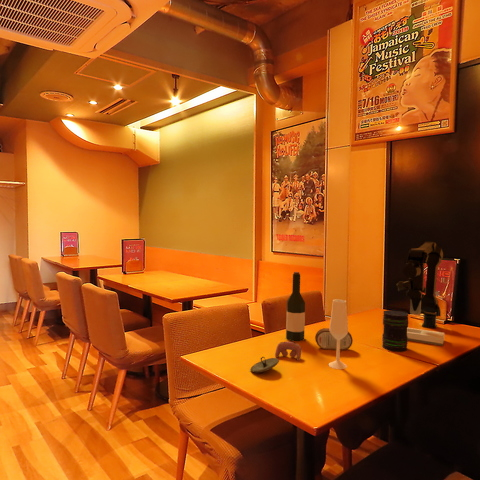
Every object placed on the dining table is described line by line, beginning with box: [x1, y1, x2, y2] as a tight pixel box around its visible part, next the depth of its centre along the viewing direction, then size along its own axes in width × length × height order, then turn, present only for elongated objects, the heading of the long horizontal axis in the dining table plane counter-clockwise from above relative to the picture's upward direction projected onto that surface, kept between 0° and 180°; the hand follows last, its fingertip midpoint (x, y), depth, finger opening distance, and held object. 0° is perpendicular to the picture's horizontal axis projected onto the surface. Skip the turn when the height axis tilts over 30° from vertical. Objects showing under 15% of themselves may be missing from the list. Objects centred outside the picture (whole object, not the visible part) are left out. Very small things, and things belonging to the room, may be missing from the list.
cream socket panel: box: [407, 327, 445, 347], centre depth 174 cm, size 9×24×4 cm, turn 58°
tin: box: [314, 327, 354, 351], centre depth 157 cm, size 15×3×8 cm, turn 84°
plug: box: [409, 300, 421, 315], centre depth 176 cm, size 4×4×7 cm
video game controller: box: [274, 341, 302, 362], centre depth 147 cm, size 10×5×7 cm, turn 71°
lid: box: [250, 356, 280, 373], centre depth 134 cm, size 11×10×5 cm
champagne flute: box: [328, 298, 349, 370], centre depth 139 cm, size 7×7×24 cm
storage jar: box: [381, 309, 409, 353], centre depth 160 cm, size 10×10×15 cm
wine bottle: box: [285, 271, 306, 342], centre depth 170 cm, size 8×8×30 cm
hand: (415, 310), depth 176 cm, fingers closed on plug, 4 cm apart
